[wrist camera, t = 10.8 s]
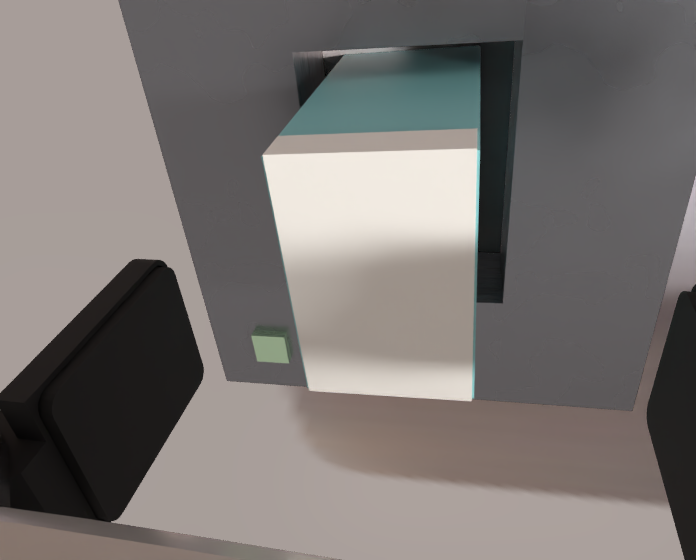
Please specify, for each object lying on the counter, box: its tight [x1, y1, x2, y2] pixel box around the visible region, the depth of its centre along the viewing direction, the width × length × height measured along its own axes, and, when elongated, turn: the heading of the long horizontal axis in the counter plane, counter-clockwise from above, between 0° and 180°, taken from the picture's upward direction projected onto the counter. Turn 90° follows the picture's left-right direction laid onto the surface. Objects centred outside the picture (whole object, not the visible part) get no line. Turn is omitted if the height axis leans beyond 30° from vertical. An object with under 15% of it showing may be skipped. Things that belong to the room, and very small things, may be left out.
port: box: [119, 0, 696, 411], centre depth 17 cm, size 14×16×3 cm
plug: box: [261, 45, 481, 401], centre depth 15 cm, size 4×6×8 cm, turn 6°
